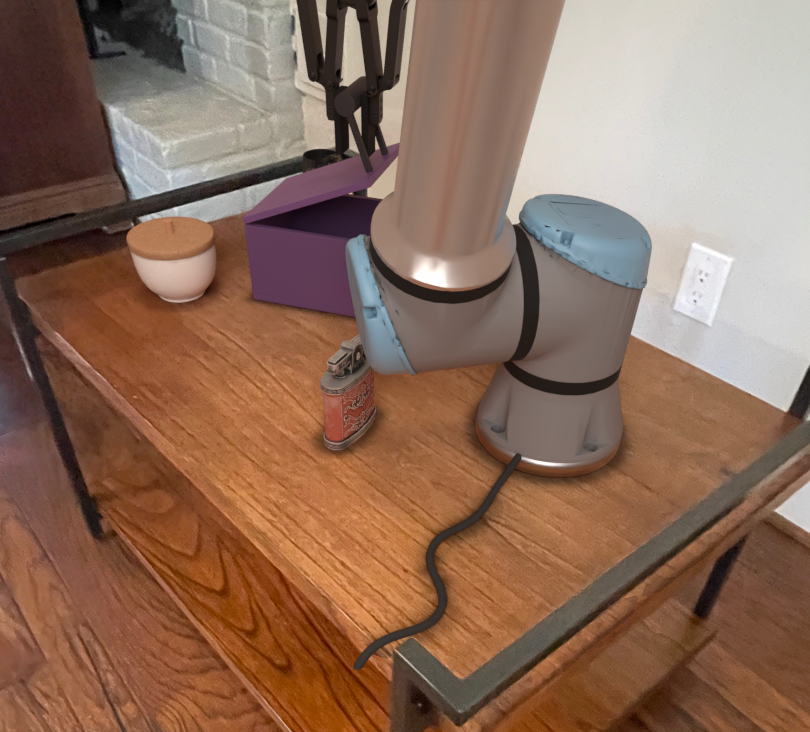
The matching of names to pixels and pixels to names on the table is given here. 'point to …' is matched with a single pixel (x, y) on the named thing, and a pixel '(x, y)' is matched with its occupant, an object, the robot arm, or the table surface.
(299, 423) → the table surface
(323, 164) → the mug
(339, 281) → the purple box base
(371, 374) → the lighter
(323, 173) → the lid
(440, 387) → the table surface
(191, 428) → the table surface
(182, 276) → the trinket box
